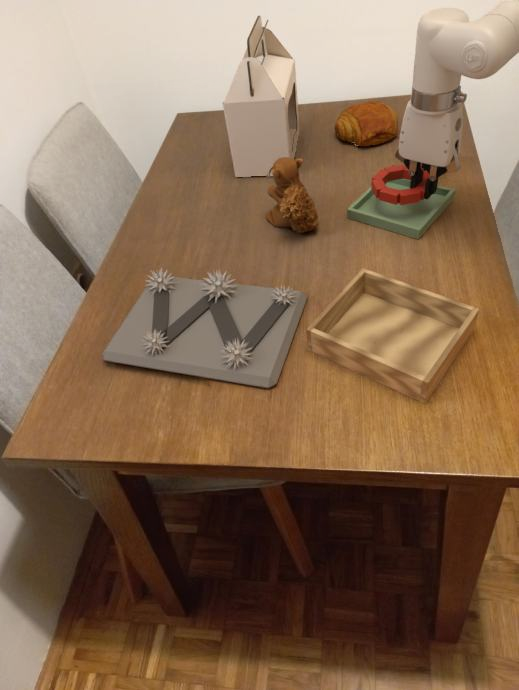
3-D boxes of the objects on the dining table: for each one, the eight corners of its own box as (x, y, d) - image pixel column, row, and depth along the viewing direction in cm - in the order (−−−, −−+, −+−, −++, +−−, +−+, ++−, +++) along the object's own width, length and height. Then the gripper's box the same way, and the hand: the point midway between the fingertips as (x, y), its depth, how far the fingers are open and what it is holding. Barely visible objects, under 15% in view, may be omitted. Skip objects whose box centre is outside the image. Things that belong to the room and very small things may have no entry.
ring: (440, 182, 103) (441, 172, 102) (413, 210, 98) (415, 200, 97) (389, 169, 109) (390, 160, 107) (362, 195, 103) (362, 186, 102)
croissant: (331, 136, 136) (326, 106, 130) (389, 116, 134) (386, 84, 129) (347, 161, 125) (342, 129, 120) (410, 139, 124) (408, 106, 119)
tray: (454, 198, 106) (455, 189, 105) (418, 239, 99) (419, 230, 97) (385, 181, 114) (385, 172, 113) (347, 218, 106) (346, 209, 105)
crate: (473, 333, 81) (479, 308, 77) (424, 407, 73) (428, 383, 69) (362, 291, 91) (362, 267, 87) (308, 352, 83) (305, 329, 79)
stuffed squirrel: (305, 199, 113) (300, 141, 103) (333, 233, 103) (331, 172, 94) (261, 213, 112) (253, 155, 102) (286, 248, 102) (280, 188, 92)
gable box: (291, 176, 120) (279, 42, 100) (235, 178, 123) (212, 48, 103) (300, 131, 135) (291, 7, 115) (249, 134, 138) (232, 13, 117)
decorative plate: (101, 365, 87) (86, 335, 82) (156, 281, 100) (145, 251, 95) (275, 394, 78) (270, 363, 73) (309, 298, 91) (307, 266, 86)
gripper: (490, 94, 86) (471, 194, 99) (401, 81, 93) (394, 175, 107) (471, 113, 82) (453, 214, 95) (380, 97, 90) (376, 193, 103)
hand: (422, 193), depth 101 cm, fingers closed on ring, 2 cm apart
